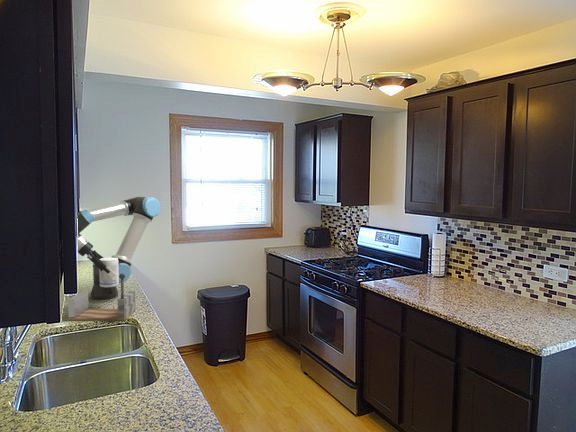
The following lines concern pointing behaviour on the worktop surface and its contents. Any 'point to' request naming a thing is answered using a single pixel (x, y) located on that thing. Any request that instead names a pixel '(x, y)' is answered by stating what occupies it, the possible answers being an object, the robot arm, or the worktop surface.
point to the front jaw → (77, 304)
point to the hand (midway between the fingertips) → (115, 274)
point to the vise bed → (121, 314)
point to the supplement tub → (105, 278)
